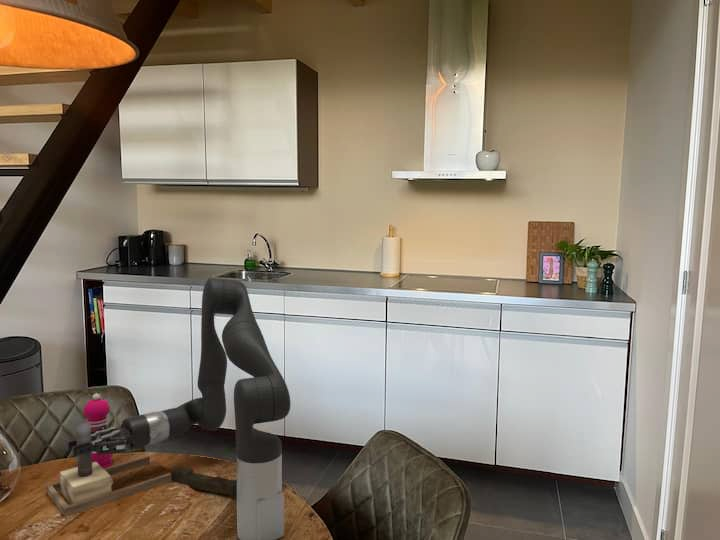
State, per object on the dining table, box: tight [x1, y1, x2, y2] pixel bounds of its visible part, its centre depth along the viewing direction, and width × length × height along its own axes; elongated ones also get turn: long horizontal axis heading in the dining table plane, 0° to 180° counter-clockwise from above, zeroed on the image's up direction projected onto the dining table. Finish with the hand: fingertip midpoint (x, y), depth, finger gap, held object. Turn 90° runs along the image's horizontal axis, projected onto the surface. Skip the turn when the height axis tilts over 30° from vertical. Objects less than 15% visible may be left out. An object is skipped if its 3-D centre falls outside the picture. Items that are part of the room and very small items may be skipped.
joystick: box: [59, 420, 114, 505], centre depth 131 cm, size 10×8×17 cm
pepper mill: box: [83, 393, 114, 469], centre depth 147 cm, size 7×7×20 cm
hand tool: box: [170, 466, 237, 500], centre depth 138 cm, size 19×4×5 cm, turn 69°
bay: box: [45, 455, 173, 518], centre depth 136 cm, size 14×24×3 cm, turn 133°
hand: (70, 449), depth 129 cm, fingers closed on joystick, 3 cm apart
